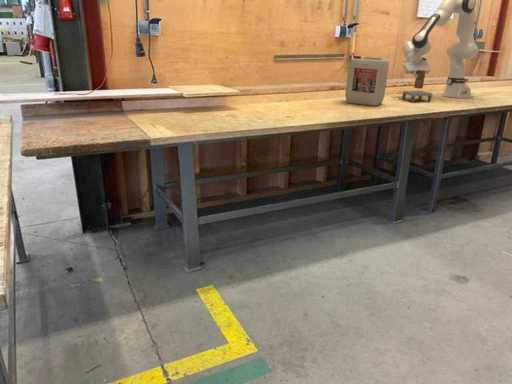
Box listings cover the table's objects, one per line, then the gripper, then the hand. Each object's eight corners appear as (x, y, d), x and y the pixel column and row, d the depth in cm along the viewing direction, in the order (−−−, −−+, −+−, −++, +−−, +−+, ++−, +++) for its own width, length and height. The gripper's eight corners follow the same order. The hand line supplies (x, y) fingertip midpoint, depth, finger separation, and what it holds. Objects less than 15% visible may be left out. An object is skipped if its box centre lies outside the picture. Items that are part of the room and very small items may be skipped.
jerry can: (342, 103, 279) (347, 56, 267) (350, 99, 294) (355, 54, 283) (378, 107, 269) (385, 58, 257) (384, 103, 284) (391, 57, 273)
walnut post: (418, 87, 296) (421, 70, 291) (422, 88, 292) (425, 70, 288) (414, 87, 294) (417, 70, 290) (417, 88, 291) (420, 70, 286)
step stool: (420, 99, 304) (421, 90, 302) (431, 102, 294) (432, 93, 291) (401, 99, 299) (402, 91, 297) (412, 102, 289) (413, 93, 287)
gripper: (404, 58, 289) (410, 74, 284) (428, 58, 295) (435, 74, 290) (399, 64, 295) (405, 80, 290) (423, 64, 301) (429, 80, 296)
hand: (420, 77), depth 290 cm, fingers closed on walnut post, 4 cm apart
